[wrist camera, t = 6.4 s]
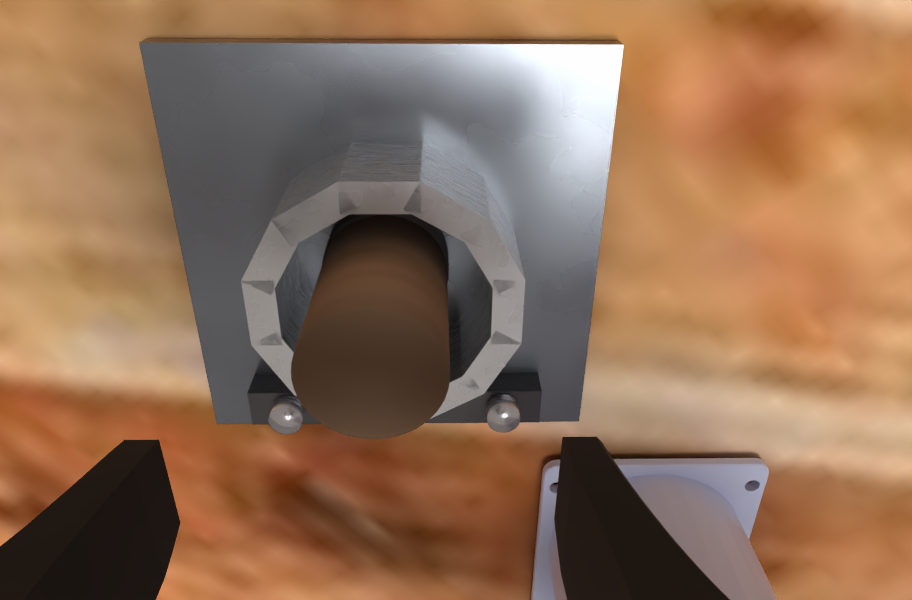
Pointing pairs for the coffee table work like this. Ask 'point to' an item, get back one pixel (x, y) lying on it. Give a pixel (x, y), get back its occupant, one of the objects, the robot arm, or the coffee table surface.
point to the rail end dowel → (376, 328)
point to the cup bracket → (391, 201)
